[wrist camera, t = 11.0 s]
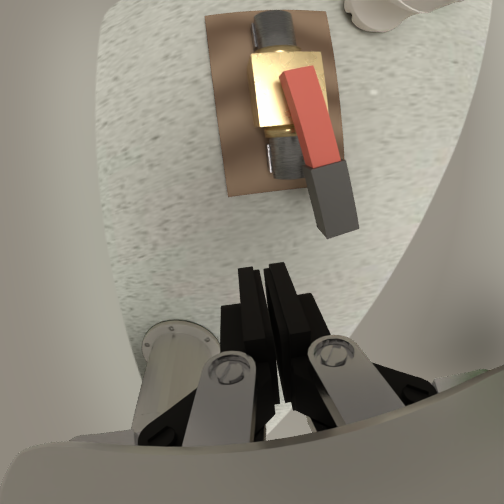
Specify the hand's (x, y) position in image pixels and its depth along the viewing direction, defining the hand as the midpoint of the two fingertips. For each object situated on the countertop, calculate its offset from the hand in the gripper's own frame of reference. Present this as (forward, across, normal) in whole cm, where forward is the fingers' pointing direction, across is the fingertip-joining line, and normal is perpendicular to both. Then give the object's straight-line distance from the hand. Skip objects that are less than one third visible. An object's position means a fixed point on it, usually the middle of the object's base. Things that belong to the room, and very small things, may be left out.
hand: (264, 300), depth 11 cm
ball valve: (+24, -6, -10) cm, 26 cm away
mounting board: (+25, -6, -10) cm, 27 cm away
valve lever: (+17, -7, -4) cm, 18 cm away
